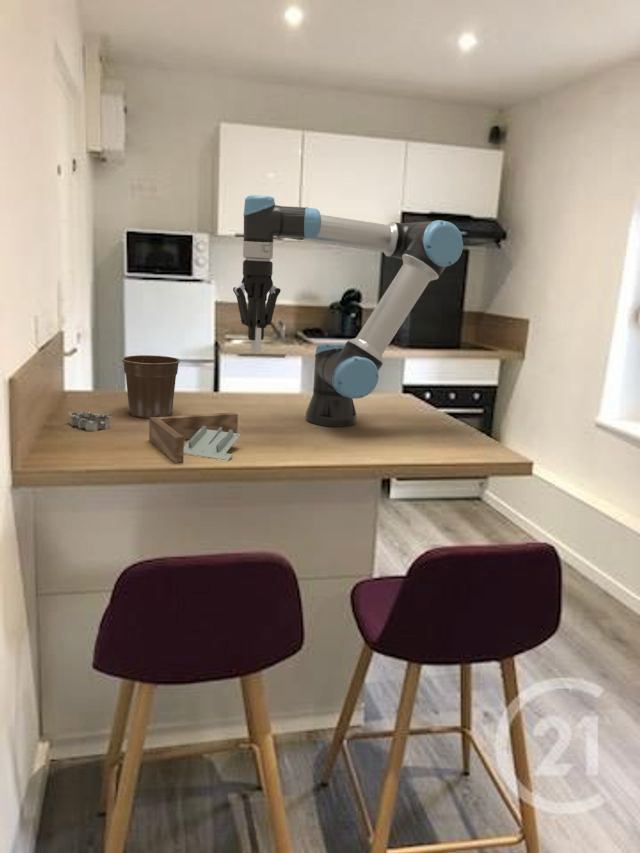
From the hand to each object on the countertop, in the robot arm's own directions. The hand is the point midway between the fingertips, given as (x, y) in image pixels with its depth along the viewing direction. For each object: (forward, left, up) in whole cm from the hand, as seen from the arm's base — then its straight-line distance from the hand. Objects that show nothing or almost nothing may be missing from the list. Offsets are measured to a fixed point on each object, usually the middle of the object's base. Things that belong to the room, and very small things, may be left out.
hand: (255, 352), depth 180 cm
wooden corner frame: (+17, +9, -22) cm, 29 cm away
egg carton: (+38, -20, -23) cm, 49 cm away
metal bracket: (+16, +11, -23) cm, 30 cm away
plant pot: (+19, -29, -22) cm, 41 cm away
